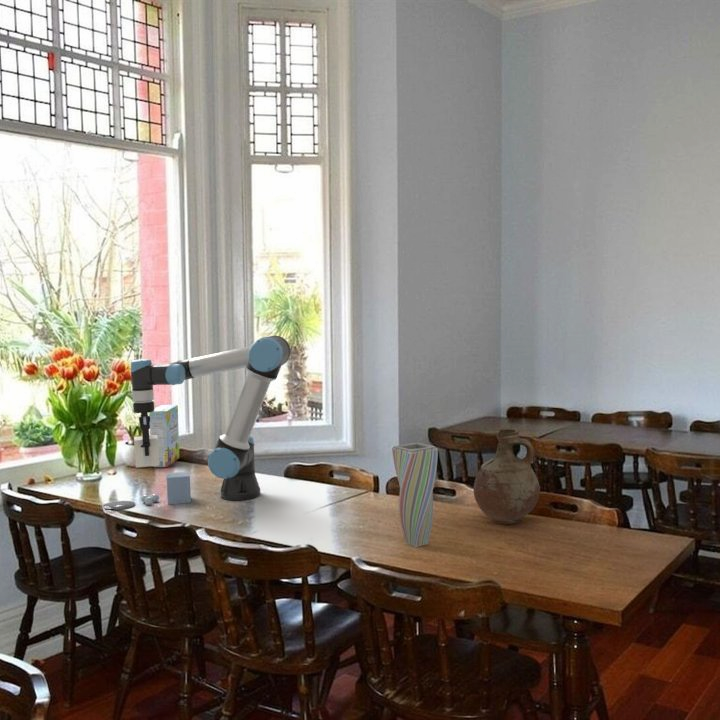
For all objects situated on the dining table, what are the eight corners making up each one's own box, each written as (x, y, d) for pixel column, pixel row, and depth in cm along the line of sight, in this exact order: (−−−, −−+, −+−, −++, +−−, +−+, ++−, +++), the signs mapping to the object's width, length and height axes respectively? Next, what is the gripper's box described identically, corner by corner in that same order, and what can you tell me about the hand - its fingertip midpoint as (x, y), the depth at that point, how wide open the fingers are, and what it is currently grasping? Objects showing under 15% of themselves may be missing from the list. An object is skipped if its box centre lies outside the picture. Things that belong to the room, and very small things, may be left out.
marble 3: (159, 503, 323) (161, 495, 323) (154, 503, 320) (156, 495, 320) (153, 500, 324) (155, 492, 324) (148, 500, 321) (150, 492, 321)
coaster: (141, 503, 320) (141, 502, 320) (120, 511, 310) (120, 509, 310) (118, 501, 325) (118, 499, 325) (97, 508, 315) (97, 507, 315)
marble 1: (149, 504, 322) (152, 497, 322) (144, 504, 319) (147, 497, 319) (143, 500, 323) (146, 493, 323) (138, 500, 320) (141, 493, 320)
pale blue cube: (189, 497, 328) (188, 471, 327) (191, 502, 320) (189, 476, 319) (167, 499, 326) (165, 473, 325) (167, 504, 318) (166, 478, 317)
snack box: (169, 467, 383) (167, 410, 381) (150, 468, 383) (147, 411, 381) (181, 457, 405) (178, 403, 402) (162, 458, 405) (159, 404, 402)
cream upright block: (158, 461, 324) (157, 434, 323) (159, 465, 316) (157, 438, 315) (135, 463, 322) (133, 436, 321) (135, 467, 313) (134, 440, 313)
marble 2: (154, 504, 319) (154, 496, 319) (149, 506, 316) (149, 498, 316) (148, 503, 320) (148, 495, 320) (143, 505, 318) (142, 497, 317)
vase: (414, 553, 252) (411, 452, 249) (385, 542, 263) (383, 446, 260) (448, 544, 260) (446, 446, 257) (419, 534, 271) (417, 440, 268)
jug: (475, 511, 296) (473, 424, 294) (539, 512, 292) (538, 424, 290) (472, 528, 275) (471, 436, 272) (541, 530, 271) (540, 436, 269)
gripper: (132, 398, 326) (136, 457, 328) (132, 405, 305) (137, 468, 307) (153, 397, 328) (157, 455, 330) (154, 404, 307) (158, 466, 309)
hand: (147, 461), depth 318 cm, fingers closed on cream upright block, 8 cm apart
